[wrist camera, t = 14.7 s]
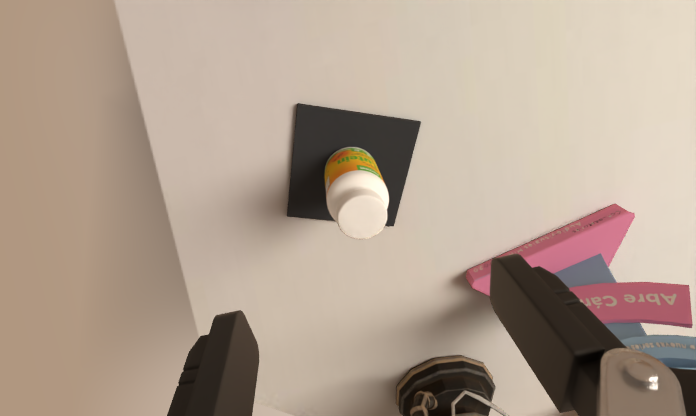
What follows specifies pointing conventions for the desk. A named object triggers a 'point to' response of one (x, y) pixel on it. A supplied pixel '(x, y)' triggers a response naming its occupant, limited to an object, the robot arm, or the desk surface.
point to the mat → (340, 132)
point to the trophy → (609, 285)
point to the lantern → (447, 389)
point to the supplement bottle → (356, 193)
